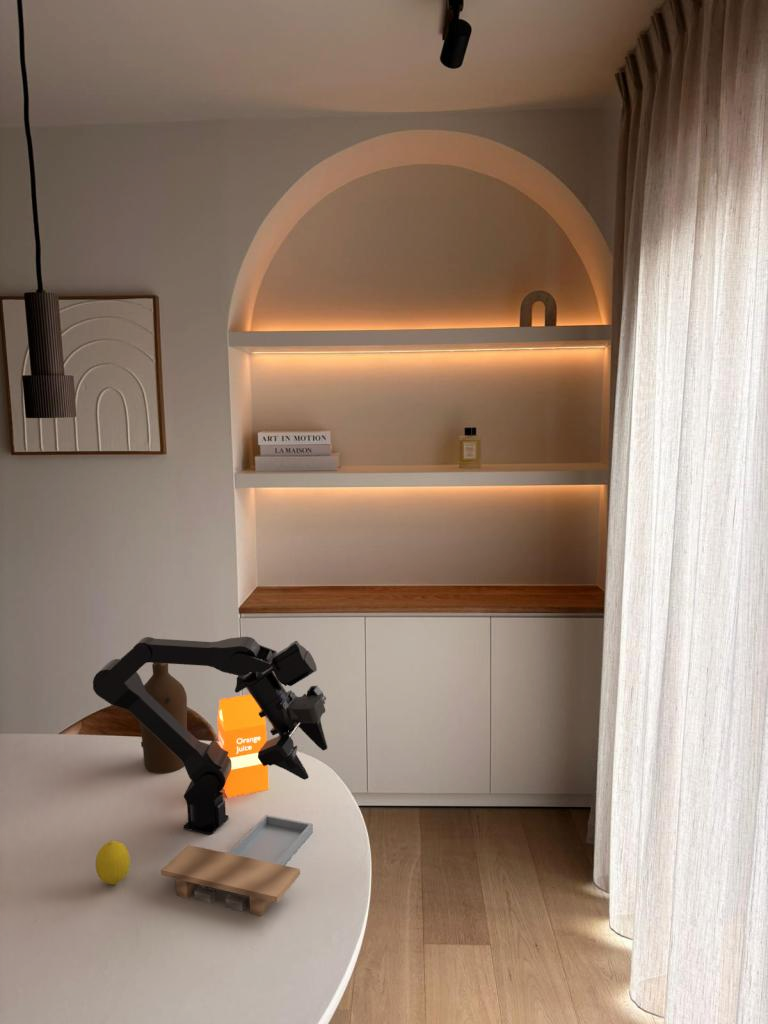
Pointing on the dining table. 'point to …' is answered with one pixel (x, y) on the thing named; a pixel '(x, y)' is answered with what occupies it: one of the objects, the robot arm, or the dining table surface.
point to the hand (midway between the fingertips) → (316, 763)
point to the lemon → (112, 862)
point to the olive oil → (175, 703)
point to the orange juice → (243, 744)
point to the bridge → (229, 878)
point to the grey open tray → (273, 840)
